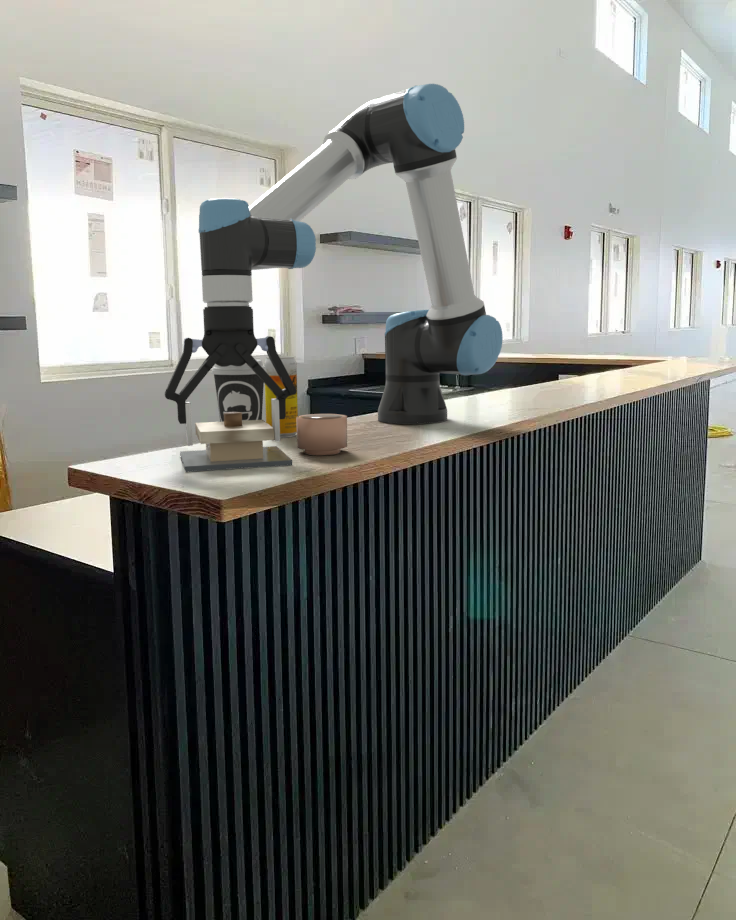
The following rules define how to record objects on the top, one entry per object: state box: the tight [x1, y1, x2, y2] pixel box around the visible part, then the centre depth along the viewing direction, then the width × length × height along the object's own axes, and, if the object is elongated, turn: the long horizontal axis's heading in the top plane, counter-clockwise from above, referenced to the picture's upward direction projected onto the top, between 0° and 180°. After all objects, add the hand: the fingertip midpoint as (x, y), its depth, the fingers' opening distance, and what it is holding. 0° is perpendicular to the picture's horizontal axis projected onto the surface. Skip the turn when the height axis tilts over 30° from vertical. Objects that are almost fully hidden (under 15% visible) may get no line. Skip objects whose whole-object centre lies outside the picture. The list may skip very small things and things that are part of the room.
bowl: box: [296, 413, 348, 456], centre depth 131 cm, size 8×8×6 cm
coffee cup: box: [210, 359, 267, 422], centre depth 137 cm, size 10×10×15 cm
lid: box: [194, 412, 275, 445], centre depth 123 cm, size 11×11×4 cm
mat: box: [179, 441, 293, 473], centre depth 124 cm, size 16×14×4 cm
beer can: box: [263, 355, 299, 439], centre depth 149 cm, size 6×6×15 cm
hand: (233, 442), depth 124 cm, fingers open, 13 cm apart
